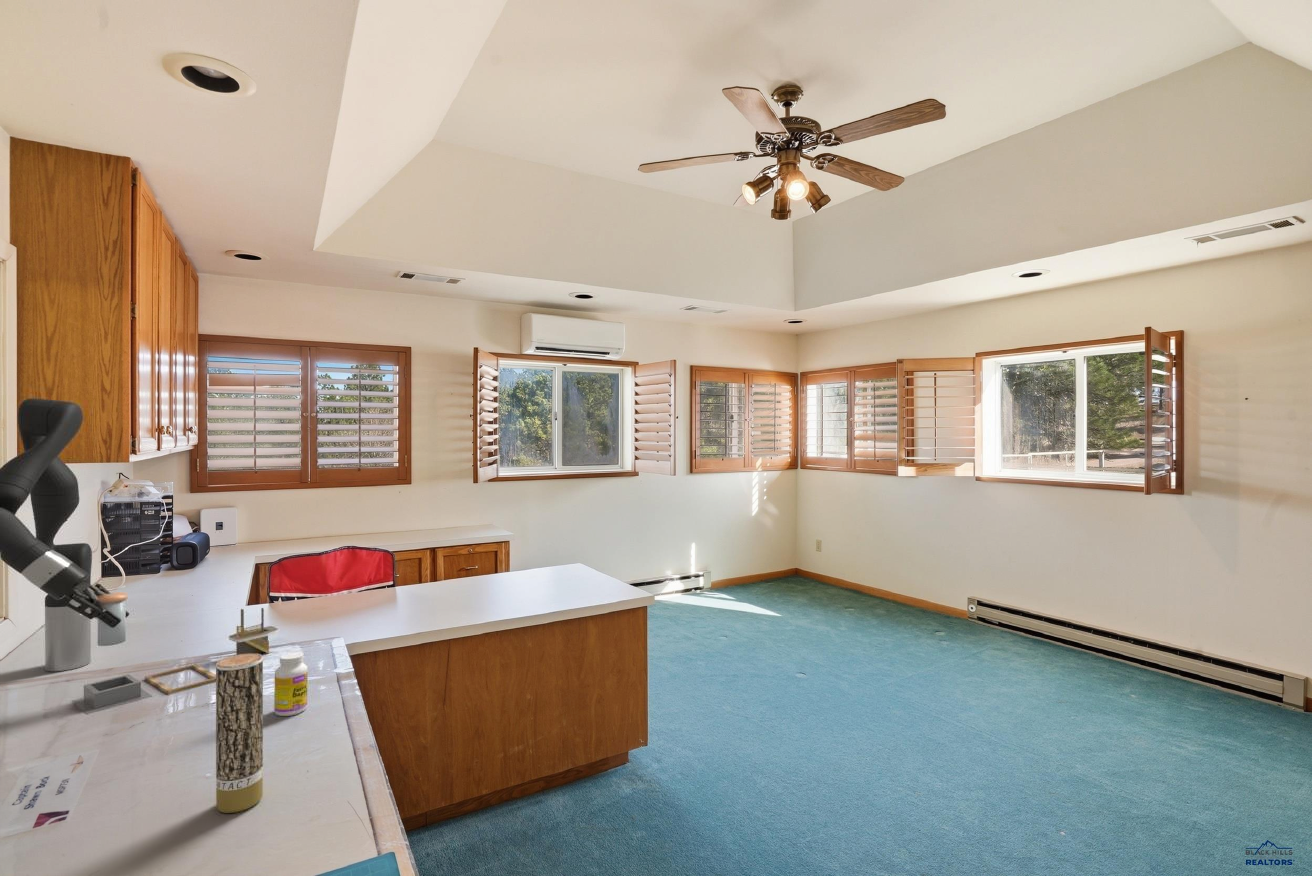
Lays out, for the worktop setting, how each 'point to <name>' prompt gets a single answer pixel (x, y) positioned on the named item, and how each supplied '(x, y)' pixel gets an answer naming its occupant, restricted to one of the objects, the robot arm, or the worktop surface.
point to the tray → (169, 691)
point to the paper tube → (239, 732)
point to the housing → (110, 694)
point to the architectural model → (252, 637)
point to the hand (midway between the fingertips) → (121, 620)
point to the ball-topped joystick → (118, 608)
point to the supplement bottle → (290, 685)
